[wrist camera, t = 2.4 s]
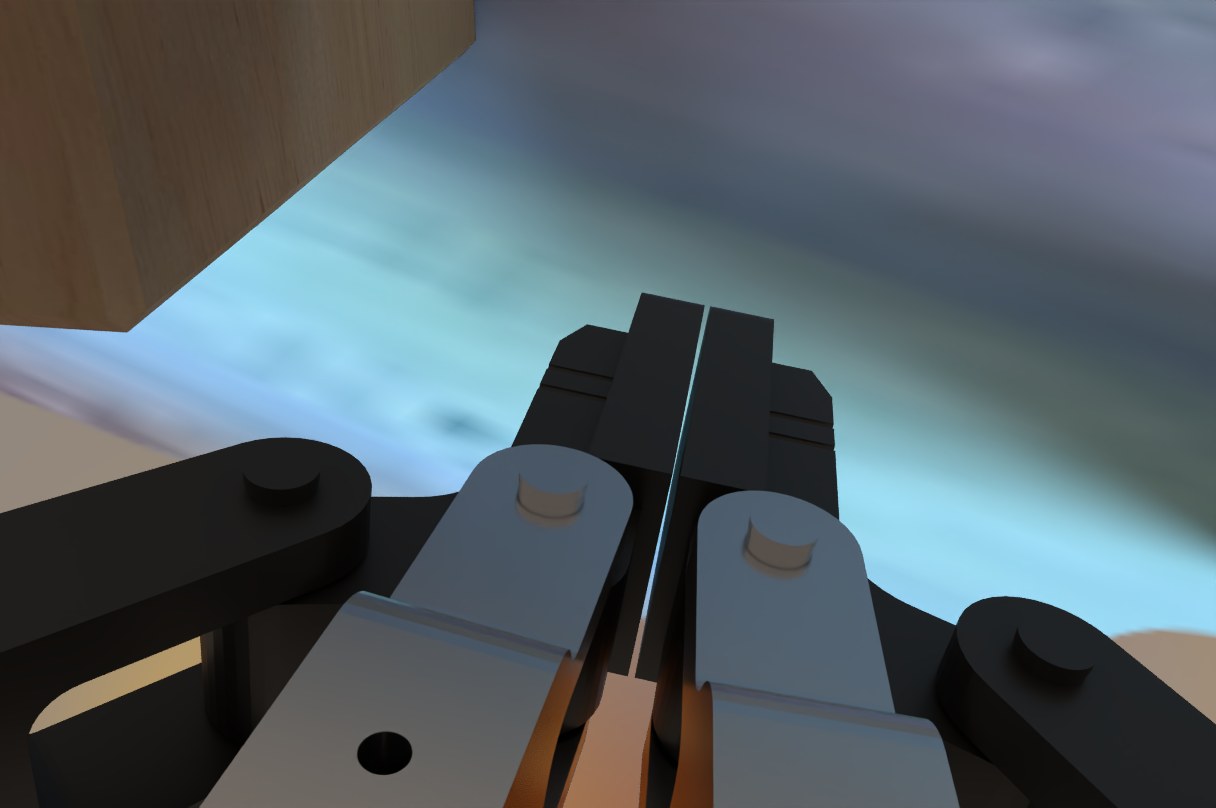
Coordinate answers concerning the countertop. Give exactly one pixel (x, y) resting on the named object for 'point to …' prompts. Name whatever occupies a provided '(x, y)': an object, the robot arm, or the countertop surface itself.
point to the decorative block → (181, 132)
